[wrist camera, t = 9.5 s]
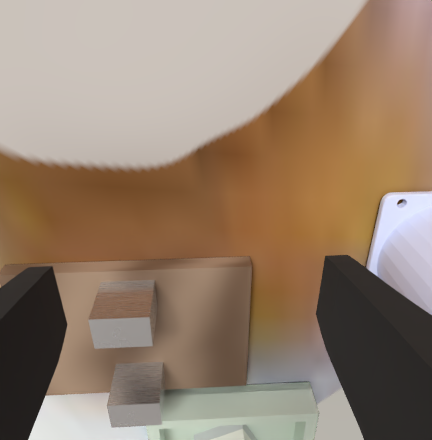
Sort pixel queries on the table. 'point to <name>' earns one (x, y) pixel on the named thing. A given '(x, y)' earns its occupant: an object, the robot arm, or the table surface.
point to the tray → (240, 411)
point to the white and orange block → (226, 433)
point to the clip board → (178, 327)
